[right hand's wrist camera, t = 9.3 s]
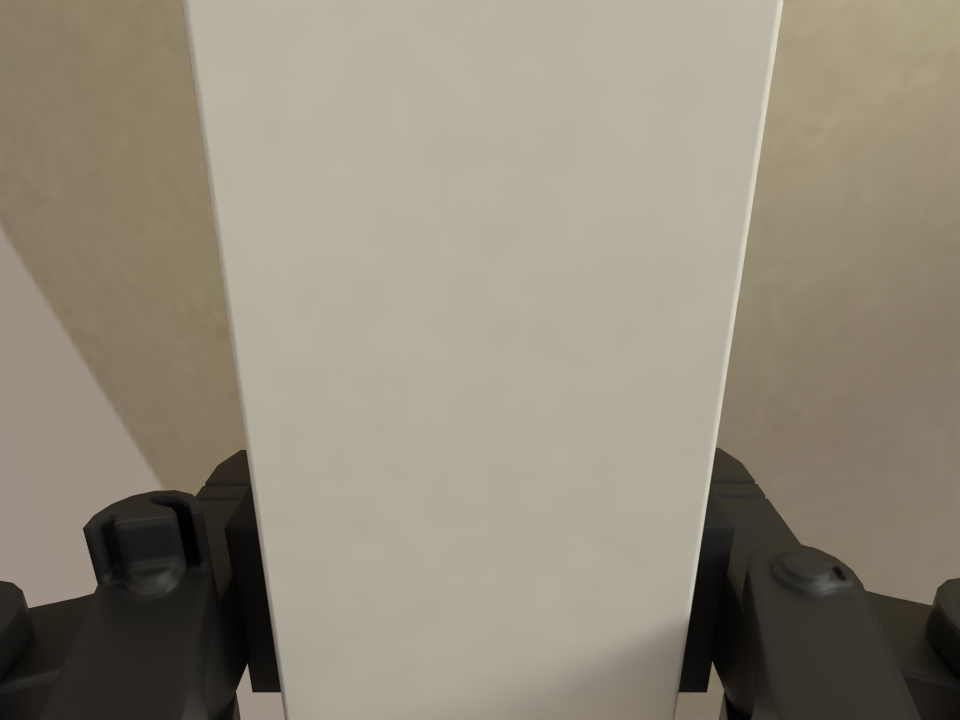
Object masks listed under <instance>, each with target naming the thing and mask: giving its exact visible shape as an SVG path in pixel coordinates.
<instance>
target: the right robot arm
mask: <svg viewBox="0 0 960 720" xmlns="http://www.w3.org/2000/svg"><path fill="white" fill-rule="evenodd" d="M83 531H84V534H85V538H86V542H87V546H88V549H89V553H90V557H91V561H92V564H93V568H94V572H95V575H96V579H97V583H98V586H97V588H96V590H95V593H94V594H90V595H86V596H83V597H79V598H75V599H70V600H66V601H61V602H56V603H51V604H47V605H42V606H37V607H33V608H28V606H27V603H26V600H25V597H24V594H23V591H22V590H21V589H20V588H18V587H17V586H16V585H15V584H13V583H11V582H4V581H0V720H240V712H239V706H238V700H237V694H236V690H237V687H238V685H239V682H240V680H241V678H242V675H243V673H244V670H245V668H246V666H247V663H248V668H249V674H250V680H251V685H252V691H253V692H281V687H280V680H279V673H278V666H277V660H276V653H275V646H274V639H273V632H272V625H271V618H270V611H269V604H268V597H267V590H266V583H265V576H264V569H263V562H262V555H261V548H260V541H259V534H258V527H257V520H256V513H255V506H254V499H253V492H252V486H251V479H250V472H249V465H248V458H247V451H246V450H240V451H239V452H237V453H236V454H234V455H233V456H231V457H230V458H228V459H227V460H225V461H224V462H222V463H221V464H219V465H218V466H217V467H216V469H215V470H214V472H213V473H212V474H211V476H210V477H209V478H208V480H207V481H206V483H205V486H203V487H202V488H201V490H200V491H199V492H198V494H197V495H196V496H195V497H194V496H193V495H192V494H189V493H185V492H180V491H176V490H170V491H152V492H148V493H143V494H138V495H134V496H131V497H128V498H126V499H123V500H121V501H118V502H116V503H113V504H111V505H110V506H108V507H106V508H105V509H103V510H102V511H100V512H99V513H97V514H96V515H94V516H93V517H92V518H91V520H90V521H89V522H88V523H87V524H86V525H85V527H84V528H83ZM712 661H713V663H714V666H715V668H716V671H717V673H718V675H719V678H720V680H721V683H722V685H723V687H724V694H723V700H722V705H721V711H720V716H719V720H960V578H957V579H950V580H947V581H946V582H944V583H943V584H942V585H941V586H939V587H938V589H937V592H936V595H935V598H934V601H933V604H932V606H931V605H927V604H922V603H917V602H912V601H908V600H903V599H898V598H893V597H889V596H884V595H880V594H876V593H873V592H869V591H866V590H865V589H864V587H863V584H862V583H861V581H860V580H859V579H858V577H857V576H856V575H855V573H854V572H853V570H852V569H850V568H849V567H848V566H846V565H845V564H844V563H842V562H841V561H839V560H838V559H837V558H835V557H833V556H831V555H829V554H827V553H825V552H822V551H820V550H818V549H816V548H813V547H808V546H804V545H801V544H800V542H799V541H798V540H797V538H796V537H795V535H794V534H793V533H792V531H791V530H790V529H789V527H788V526H787V524H786V523H785V522H784V520H783V519H782V518H781V516H780V515H779V514H778V512H777V511H776V509H775V508H774V507H773V505H772V504H771V503H770V501H769V500H768V499H765V494H764V493H763V492H762V490H761V489H760V487H759V486H758V485H757V484H755V483H754V479H753V478H752V476H751V475H750V474H749V472H748V471H747V470H746V468H745V467H744V465H743V464H742V463H741V462H739V461H738V460H736V459H735V458H733V457H732V456H730V455H729V454H727V453H726V452H724V451H723V450H721V449H720V448H715V454H714V461H713V468H712V474H711V481H710V487H709V494H708V501H707V507H706V514H705V520H704V527H703V533H702V540H701V547H700V553H699V560H698V566H697V573H696V580H695V586H694V593H693V599H692V606H691V612H690V619H689V626H688V632H687V639H686V645H685V652H684V658H683V665H682V672H681V678H680V685H679V691H678V692H707V688H708V683H709V677H710V671H711V665H712Z"/></svg>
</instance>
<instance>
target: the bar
mask: <svg viewBox="0 0 960 720" xmlns="http://www.w3.org/2000/svg"><path fill="white" fill-rule="evenodd" d="M182 5H183V12H184V19H185V26H186V33H187V40H188V47H189V54H190V61H191V68H192V75H193V82H194V89H195V96H196V103H197V110H198V117H199V124H200V131H201V138H202V144H203V151H204V158H205V165H206V172H207V179H208V186H209V193H210V200H211V207H212V214H213V221H214V228H215V235H216V242H217V249H218V256H219V263H220V270H221V277H222V284H223V291H224V298H225V305H226V312H227V318H228V325H229V332H230V339H231V346H232V353H233V360H234V367H235V374H236V381H237V388H238V395H239V402H240V409H241V416H242V423H243V430H244V437H245V444H246V451H247V458H248V465H249V472H250V479H251V486H252V492H253V499H254V506H255V513H256V520H257V527H258V534H259V541H260V548H261V555H262V562H263V569H264V576H265V583H266V590H267V597H268V604H269V611H270V618H271V625H272V632H273V639H274V646H275V653H276V660H277V666H278V673H279V680H280V687H281V694H282V701H283V708H284V715H285V720H674V718H675V711H676V705H677V698H678V691H679V685H680V678H681V672H682V665H683V658H684V652H685V645H686V639H687V632H688V626H689V619H690V612H691V606H692V599H693V593H694V586H695V580H696V573H697V566H698V560H699V553H700V547H701V540H702V533H703V527H704V520H705V514H706V507H707V501H708V494H709V487H710V481H711V474H712V468H713V461H714V454H715V448H716V441H717V435H718V428H719V422H720V415H721V408H722V402H723V395H724V389H725V382H726V376H727V369H728V362H729V356H730V349H731V343H732V336H733V329H734V323H735V316H736V310H737V303H738V297H739V290H740V283H741V277H742V270H743V264H744V257H745V250H746V244H747V237H748V231H749V224H750V218H751V211H752V204H753V198H754V191H755V185H756V178H757V171H758V165H759V158H760V152H761V145H762V139H763V132H764V125H765V119H766V112H767V106H768V99H769V93H770V86H771V79H772V73H773V66H774V60H775V53H776V46H777V40H778V33H779V27H780V20H781V14H782V7H783V0H182Z"/></svg>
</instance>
